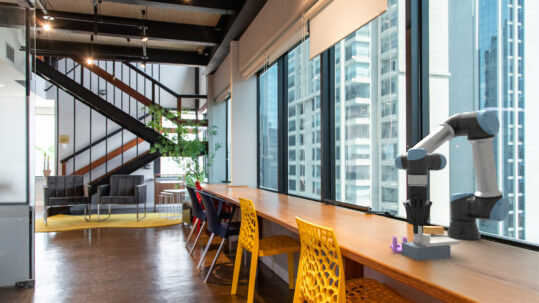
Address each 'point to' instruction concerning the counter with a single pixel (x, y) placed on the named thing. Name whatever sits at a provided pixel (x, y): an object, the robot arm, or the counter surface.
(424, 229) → the key
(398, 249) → the bracket
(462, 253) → the counter surface
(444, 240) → the cover
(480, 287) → the counter surface
